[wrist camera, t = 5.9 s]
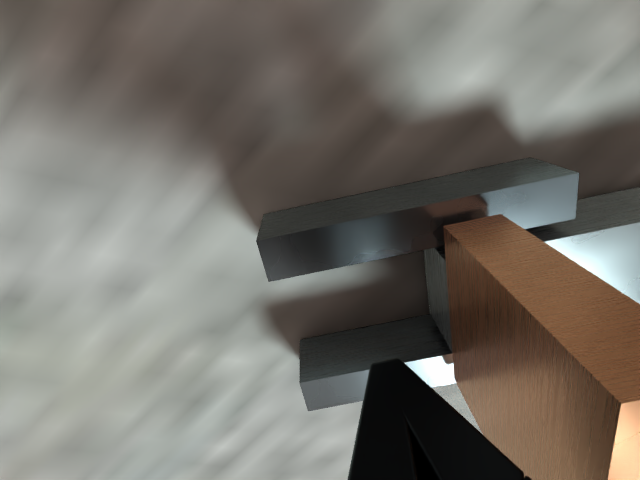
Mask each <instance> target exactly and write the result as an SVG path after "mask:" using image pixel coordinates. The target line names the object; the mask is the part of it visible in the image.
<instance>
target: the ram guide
mask: <svg viewBox="0 0 640 480" xmlns="http://www.w3.org/2000/svg"><path fill="white" fill-rule="evenodd" d="M578 182H579V173H578V172H575V171H572V170H568V169H565V168H562V167H559V166H556V165H553V164H550V163H546V162H543V161H540V160H537V159H534V158H526V159H521V160H517V161H512V162H507V163H503V164H498V165H493V166H489V167H484V168H479V169H474V170H470V171H465V172H460V173H456V174H451V175H446V176H442V177H437V178H432V179H428V180H423V181H418V182H413V183H409V184H404V185H399V186H395V187H390V188H385V189H381V190H376V191H371V192H367V193H362V194H357V195H352V196H348V197H343V198H338V199H334V200H329V201H324V202H320V203H315V204H310V205H306V206H301V207H296V208H291V209H287V210H282V211H277V212H273V213H268V214H264V216H263V219H262V223H261V226H260V230H259V233H258V237H257V240H256V242H257V245H258V248H259V252H260V255H261V258H262V261H263V265H264V268H265V271H266V275H267V278H268V281H269V282H270V281H275V280H280V279H285V278H290V277H295V276H299V275H304V274H309V273H314V272H319V271H324V270H329V269H334V268H338V267H343V266H348V265H353V264H358V263H363V262H368V261H372V260H377V259H382V258H387V257H392V256H397V255H402V254H406V253H411V252H416V251H421V250H426V249H431V248H436V247H441V246H445V245H444V231H443V226H445V225H450V224H455V223H459V222H464V221H469V220H474V219H479V218H483V217H488V216H493V215H498V214H502V215H503V216H505V217H506V218H508V219H509V220H511V221H513V222H514V223H516V224H517V225H519V226H520V227H522V228H523V229H528V228H533V227H538V226H543V225H547V224H552V223H557V222H562V221H567V220H572V219H575V217H576V205H577V193H578ZM393 358H399V359H400V360H402V361H403V362H404V363H405V364H406V365H407V366H408V367H409V368H410V369H411V370H413V371H414V372H415V373H416V374H417V375H418V376H419V377H420V378H421V379H422V380H424V381H425V382H426V383H427V384H428V385H429V386H430V387H431V388H432V387H438V386H443V385H448V384H453V383H456V381H455V379H454V367H453V353H452V351H451V350H450V348H449V346H448V344H447V343H446V341H445V339H444V337H443V335H442V334H441V332H440V330H439V328H438V327H437V325H436V323H435V321H434V319H433V318H432V316H431V314H428V315H423V316H418V317H413V318H408V319H403V320H398V321H393V322H388V323H383V324H378V325H373V326H368V327H363V328H358V329H353V330H348V331H343V332H338V333H333V334H328V335H323V336H318V337H313V338H308V339H303V340H300V386H301V389H302V393H303V396H304V399H305V402H306V406H307V409H308V411H312V410H317V409H322V408H328V407H333V406H338V405H343V404H349V403H354V402H359V401H363V399H364V394H365V389H366V384H367V379H368V374H369V369H370V365H371V364H372V363H374V362H379V361H383V360H388V359H393Z"/></svg>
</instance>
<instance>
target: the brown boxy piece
mask: <svg viewBox="0 0 640 480" xmlns="http://www.w3.org/2000/svg"><path fill="white" fill-rule="evenodd" d="M443 231H444V245H445V246H441V247H436V248H431V249H426V250H423V251H424V261H425V271H426V281H427V291H428V301H429V311H430V314H431V316H432V318H433V319H434V321H435V323H436V325H437V327H438V328H439V330H440V332H441V334H442V335H443V337H444V339H445V341H446V343H447V344H448V346H449V348H450V350H451V351H452V353H453V367H454V379H455V381H456V383H457V385H458V387H459V389H460V391H461V393H462V395H463V397H464V399H465V401H466V402H467V404H468V406H469V408H470V410H471V412H472V414H473V416H474V418H475V420H476V422H477V424H478V426H479V428H480V429H481V431H482V433H483V435H484V436H485V437H486V438H487V439H488V440H489V441H490V442H491V443H492V444H493V445H495V446H496V447H497V448H498V449H499V450H500V451H501V452H502V453H503V454H504V455H506V456H507V457H508V458H509V459H510V460H511V461H512V462H513V463H514V464H515V465H516V466H518V467H519V468H520V469H521V470H522V471H523V472H524V477H525V476H529V477H530V478H531V479H532V480H640V187H637V188H632V189H627V190H622V191H618V192H613V193H608V194H603V195H598V196H593V197H589V198H584V199H579V200H577V205H576V217H575V219H572V220H567V221H562V222H557V223H552V224H547V225H543V226H538V227H533V228H528V229H523V228H522V227H520V226H519V225H517V224H516V223H514V222H513V221H511V220H509V219H508V218H506V217H505V216H503V215H502V214H498V215H493V216H488V217H483V218H479V219H474V220H469V221H464V222H459V223H455V224H450V225H445V226H443Z"/></svg>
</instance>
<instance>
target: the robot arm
mask: <svg viewBox="0 0 640 480" xmlns="http://www.w3.org/2000/svg"><path fill="white" fill-rule="evenodd" d="M348 480H532V479H531V478H530V477H529V476H525V477H524V472H523V471H522V470H521V469H520V468H519V467H518V466H516V465H515V464H514V463H513V462H512V461H511V460H510V459H509V458H508V457H507V456H506V455H504V454H503V453H502V452H501V451H500V450H499V449H498V448H497V447H496V446H495V445H493V444H492V443H491V442H490V441H489V440H488V439H487V438H486V437H485V436H484V435H483V434H481V433H480V432H479V431H478V430H477V429H476V428H475V427H474V426H473V425H472V424H471V423H469V422H468V421H467V420H466V419H465V418H464V417H463V416H462V415H461V414H460V413H459V412H457V411H456V410H455V409H454V408H453V407H452V406H451V405H450V404H449V403H448V402H446V401H445V400H444V399H443V398H442V397H441V396H440V395H439V394H438V393H437V392H436V391H434V390H433V389H432V388H431V387H430V386H429V385H428V384H427V383H426V382H425V381H424V380H422V379H421V378H420V377H419V376H418V375H417V374H416V373H415V372H414V371H413V370H411V369H410V368H409V367H408V366H407V365H406V364H405V363H404V362H403V361H402V360H400V359H399V358H393V359H388V360H383V361H379V362H374V363H372V364H371V365H370V369H369V374H368V379H367V384H366V389H365V394H364V399H363V405H362V410H361V415H360V420H359V425H358V430H357V435H356V440H355V445H354V450H353V455H352V460H351V465H350V470H349V475H348Z"/></svg>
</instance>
